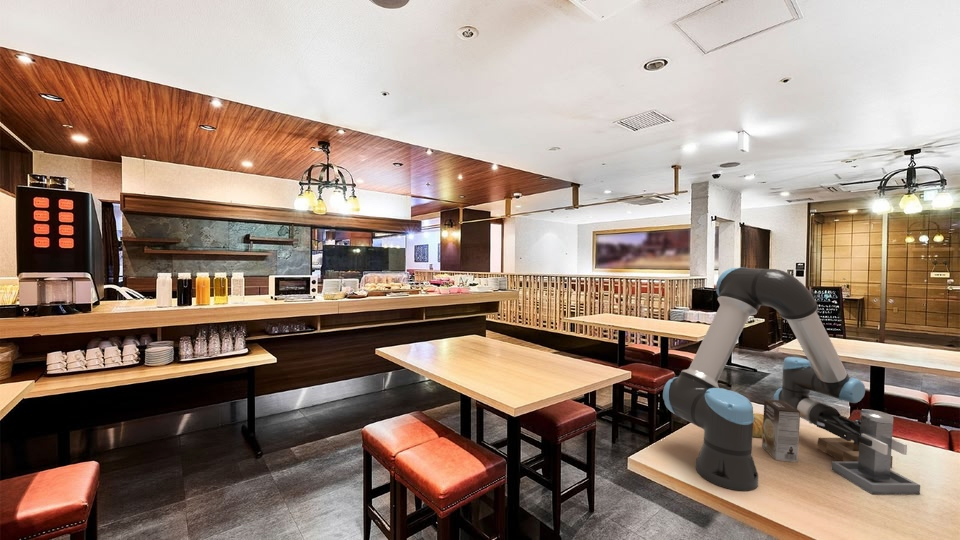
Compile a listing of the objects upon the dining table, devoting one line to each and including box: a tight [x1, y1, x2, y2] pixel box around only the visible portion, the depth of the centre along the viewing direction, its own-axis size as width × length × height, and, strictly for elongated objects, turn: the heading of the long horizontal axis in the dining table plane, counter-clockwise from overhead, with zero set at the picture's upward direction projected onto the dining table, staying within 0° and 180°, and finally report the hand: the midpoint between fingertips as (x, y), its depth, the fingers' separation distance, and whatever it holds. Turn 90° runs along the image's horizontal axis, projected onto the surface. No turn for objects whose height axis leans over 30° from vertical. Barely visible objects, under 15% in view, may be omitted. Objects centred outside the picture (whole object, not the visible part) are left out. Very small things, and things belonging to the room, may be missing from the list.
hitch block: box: [817, 437, 894, 469], centre depth 124 cm, size 12×12×4 cm
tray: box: [830, 460, 921, 495], centre depth 111 cm, size 13×12×2 cm
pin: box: [858, 408, 894, 480], centre depth 111 cm, size 6×6×18 cm
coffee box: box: [761, 399, 801, 463], centre depth 126 cm, size 9×6×16 cm
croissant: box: [752, 413, 764, 439], centre depth 142 cm, size 21×10×8 cm, turn 99°
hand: (895, 449), depth 106 cm, fingers closed on pin, 4 cm apart
